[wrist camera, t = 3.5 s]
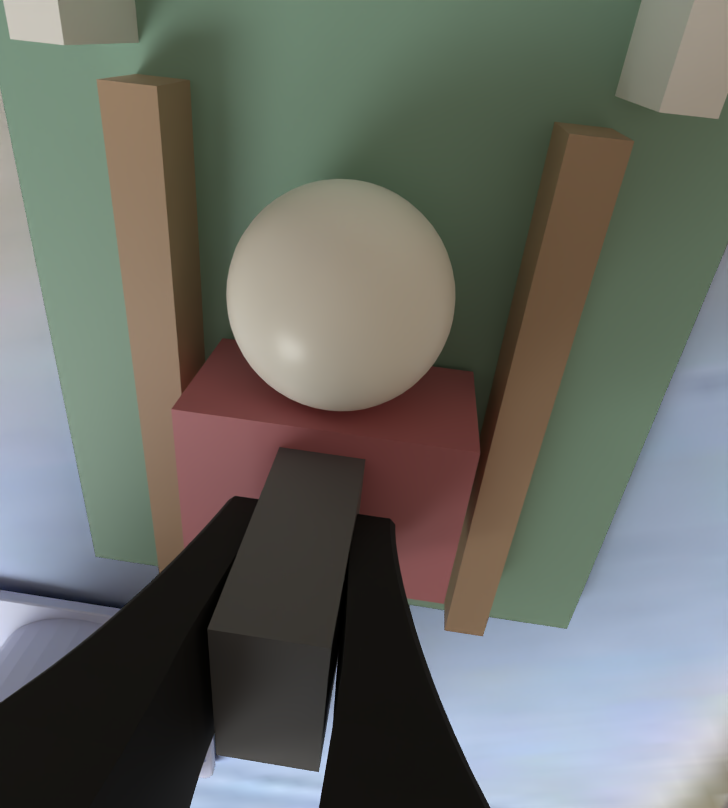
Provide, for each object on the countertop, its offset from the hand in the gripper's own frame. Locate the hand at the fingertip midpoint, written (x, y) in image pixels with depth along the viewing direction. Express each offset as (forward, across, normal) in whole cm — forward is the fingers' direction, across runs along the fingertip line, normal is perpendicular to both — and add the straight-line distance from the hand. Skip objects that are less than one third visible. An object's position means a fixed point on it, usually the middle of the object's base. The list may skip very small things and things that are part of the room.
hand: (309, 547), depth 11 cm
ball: (+2, 0, -4) cm, 5 cm away
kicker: (+5, 0, 0) cm, 5 cm away
